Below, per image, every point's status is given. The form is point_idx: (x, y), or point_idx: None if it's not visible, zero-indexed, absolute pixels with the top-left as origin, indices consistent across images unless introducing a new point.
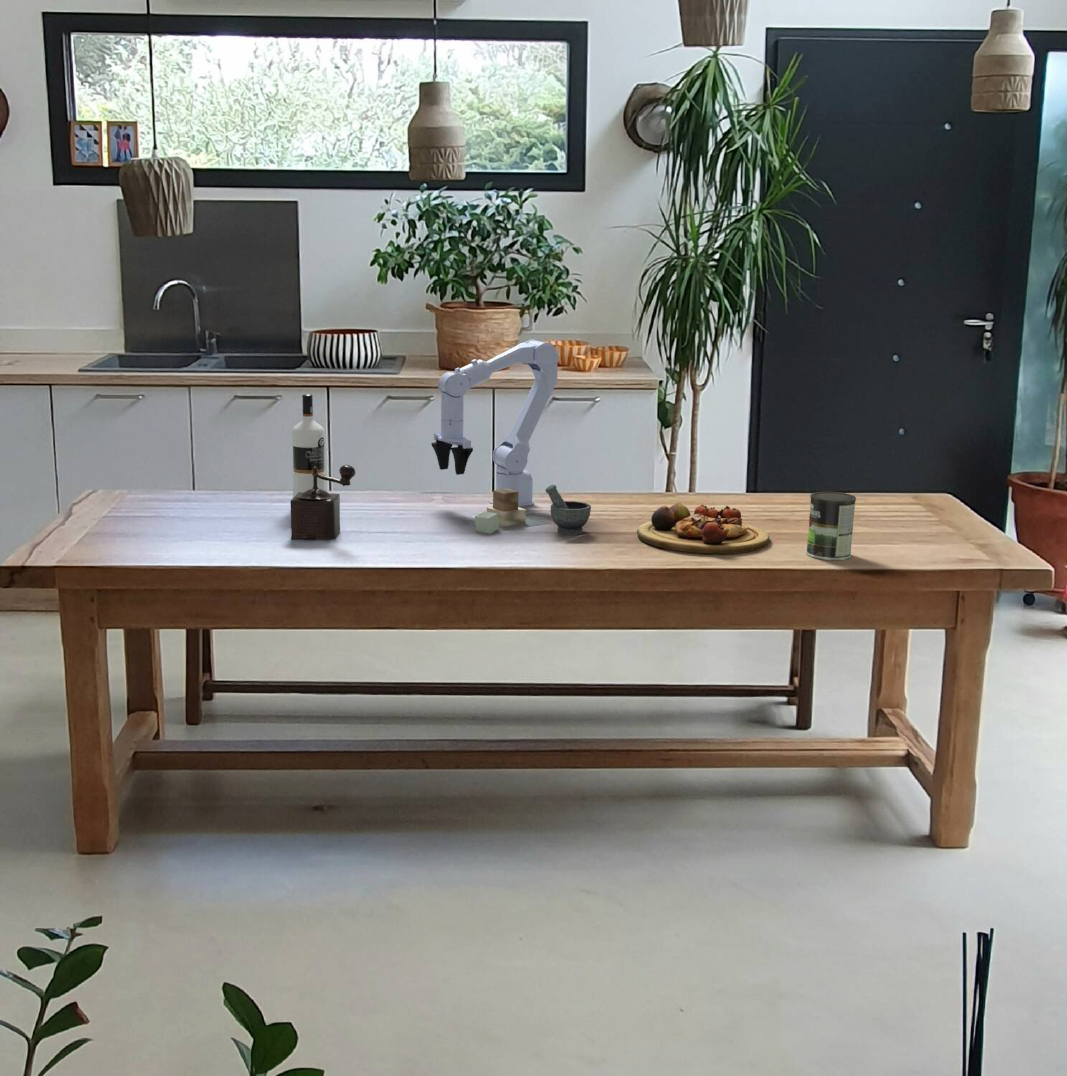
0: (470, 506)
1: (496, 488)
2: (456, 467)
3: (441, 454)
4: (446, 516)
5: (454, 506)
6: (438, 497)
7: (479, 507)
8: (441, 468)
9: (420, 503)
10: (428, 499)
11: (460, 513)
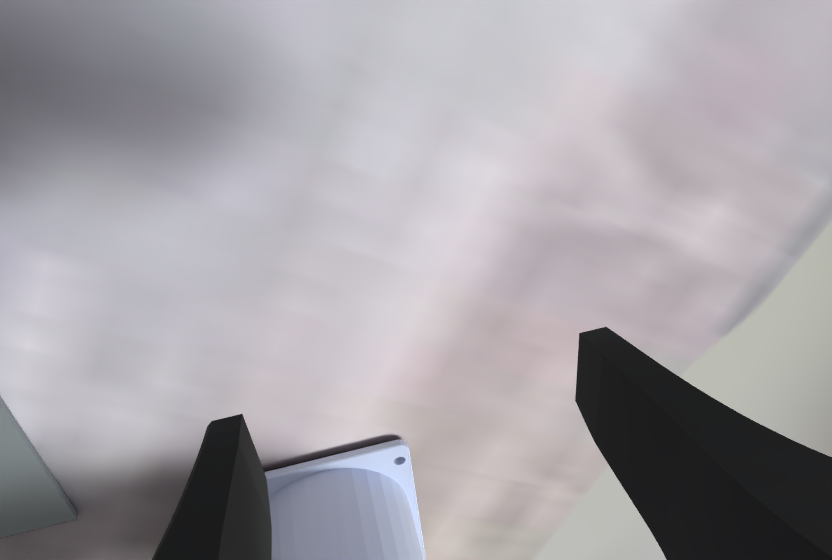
0: (377, 331)
1: (360, 547)
2: (190, 491)
3: (697, 491)
4: (91, 55)
5: (423, 242)
6: (701, 234)
7: (327, 370)
8: (586, 345)
9: (635, 46)
10: (699, 154)
11: (182, 207)
